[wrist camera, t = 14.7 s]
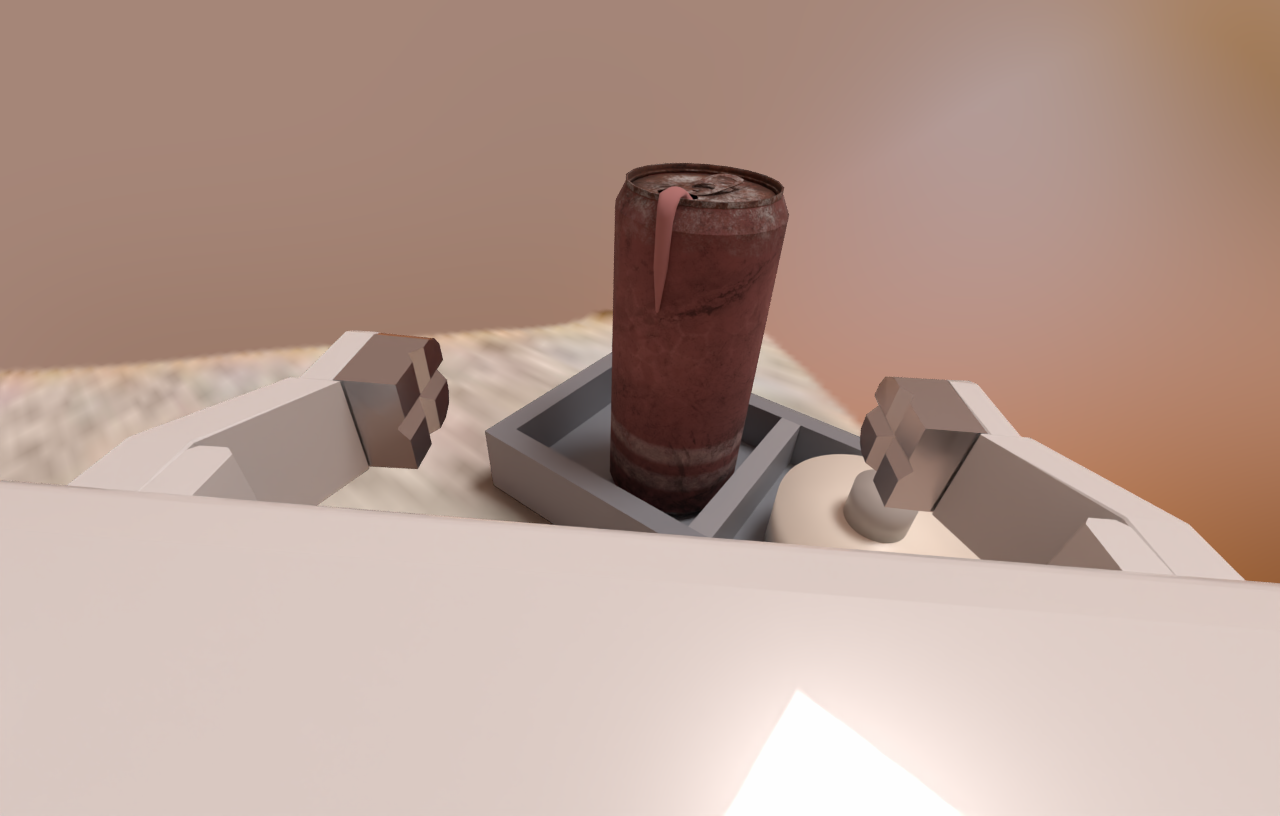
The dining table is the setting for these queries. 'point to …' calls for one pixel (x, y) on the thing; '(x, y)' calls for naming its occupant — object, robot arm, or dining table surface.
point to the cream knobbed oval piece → (852, 513)
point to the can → (688, 325)
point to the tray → (587, 496)
